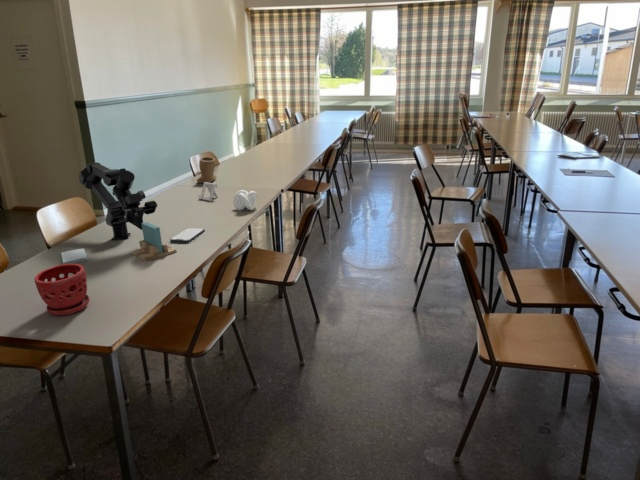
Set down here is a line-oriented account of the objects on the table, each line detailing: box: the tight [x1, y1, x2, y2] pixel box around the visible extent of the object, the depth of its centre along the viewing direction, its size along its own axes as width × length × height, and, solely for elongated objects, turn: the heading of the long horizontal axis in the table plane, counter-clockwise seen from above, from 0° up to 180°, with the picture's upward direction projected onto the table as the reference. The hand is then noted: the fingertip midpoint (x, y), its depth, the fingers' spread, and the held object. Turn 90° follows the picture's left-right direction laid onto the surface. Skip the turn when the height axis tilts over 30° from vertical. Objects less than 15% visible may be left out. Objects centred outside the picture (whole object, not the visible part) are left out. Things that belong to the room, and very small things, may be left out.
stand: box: [131, 239, 178, 262], centre depth 185 cm, size 12×12×4 cm
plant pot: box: [33, 263, 91, 316], centre depth 142 cm, size 13×13×12 cm
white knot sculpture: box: [232, 189, 258, 211], centre depth 237 cm, size 11×12×9 cm
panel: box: [141, 221, 163, 253], centre depth 184 cm, size 10×2×10 cm, turn 46°
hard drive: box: [60, 247, 89, 265], centre depth 183 cm, size 2×8×12 cm
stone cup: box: [196, 156, 217, 184], centre depth 296 cm, size 15×12×15 cm
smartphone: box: [169, 227, 206, 244], centre depth 203 cm, size 9×2×16 cm
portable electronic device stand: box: [197, 182, 219, 202], centre depth 258 cm, size 9×8×8 cm
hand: (142, 229), depth 187 cm, fingers closed
